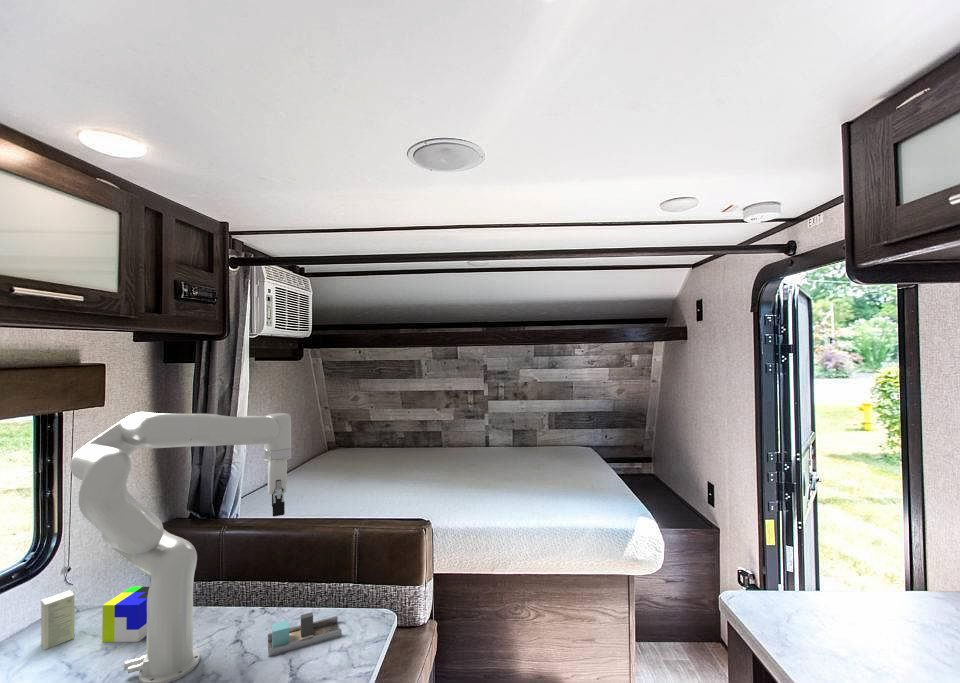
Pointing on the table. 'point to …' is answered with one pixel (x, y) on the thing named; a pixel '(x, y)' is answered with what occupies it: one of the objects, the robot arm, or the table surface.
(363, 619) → the table surface
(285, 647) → the board
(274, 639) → the cube
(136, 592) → the puzzle toy
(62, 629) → the skincare box
